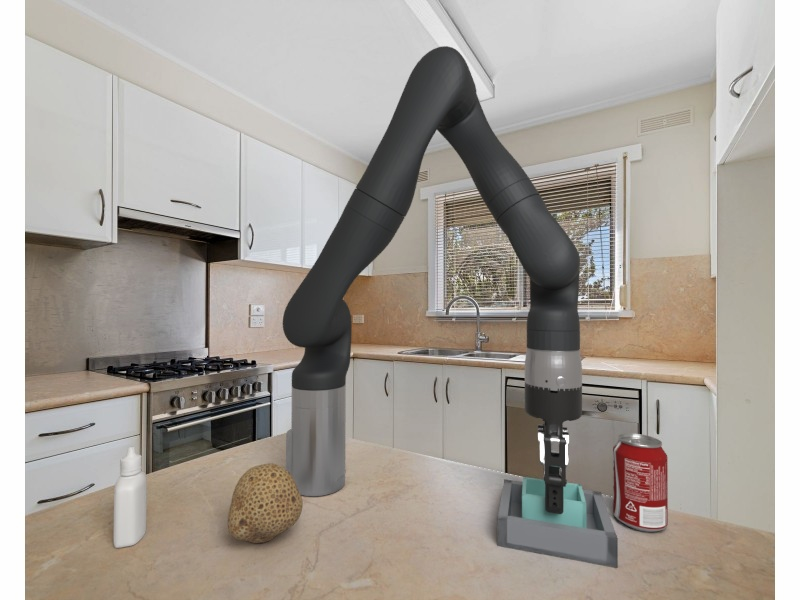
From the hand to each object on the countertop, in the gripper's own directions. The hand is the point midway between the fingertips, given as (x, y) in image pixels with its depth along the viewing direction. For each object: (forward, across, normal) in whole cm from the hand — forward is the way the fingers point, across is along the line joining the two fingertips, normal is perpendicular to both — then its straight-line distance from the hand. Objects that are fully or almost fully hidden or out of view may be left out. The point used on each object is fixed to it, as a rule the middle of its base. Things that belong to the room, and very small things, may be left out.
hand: (552, 497), depth 57 cm
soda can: (+5, -6, +12) cm, 14 cm away
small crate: (+4, 0, 0) cm, 4 cm away
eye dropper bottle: (+5, +20, -54) cm, 58 cm away
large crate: (+4, 0, 0) cm, 4 cm away
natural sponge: (+5, +15, -36) cm, 39 cm away
